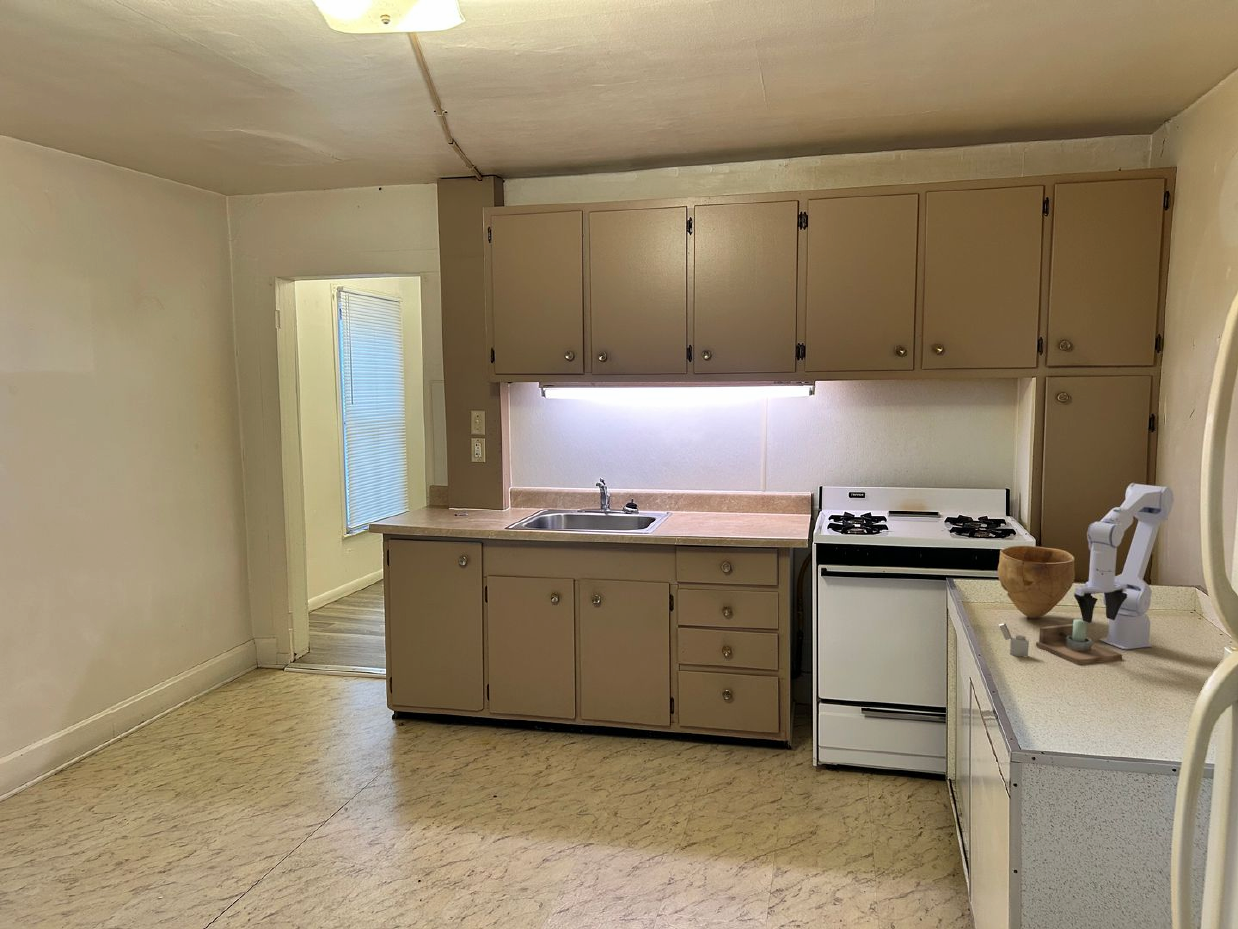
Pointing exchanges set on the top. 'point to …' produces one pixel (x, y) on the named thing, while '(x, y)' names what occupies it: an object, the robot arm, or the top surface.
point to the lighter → (1015, 642)
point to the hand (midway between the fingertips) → (1098, 620)
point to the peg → (1079, 630)
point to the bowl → (1035, 577)
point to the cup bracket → (1073, 646)
